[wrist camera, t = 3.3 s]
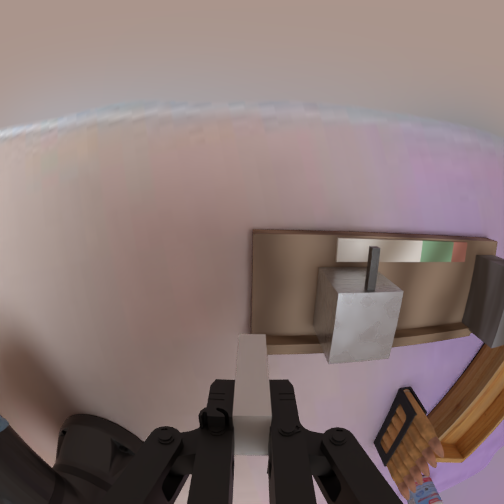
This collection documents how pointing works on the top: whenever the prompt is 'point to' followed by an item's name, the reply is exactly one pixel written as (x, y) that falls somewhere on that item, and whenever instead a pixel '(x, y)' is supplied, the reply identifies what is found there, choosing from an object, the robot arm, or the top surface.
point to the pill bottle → (425, 493)
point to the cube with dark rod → (356, 312)
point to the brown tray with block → (391, 266)
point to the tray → (471, 406)
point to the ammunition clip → (408, 442)
